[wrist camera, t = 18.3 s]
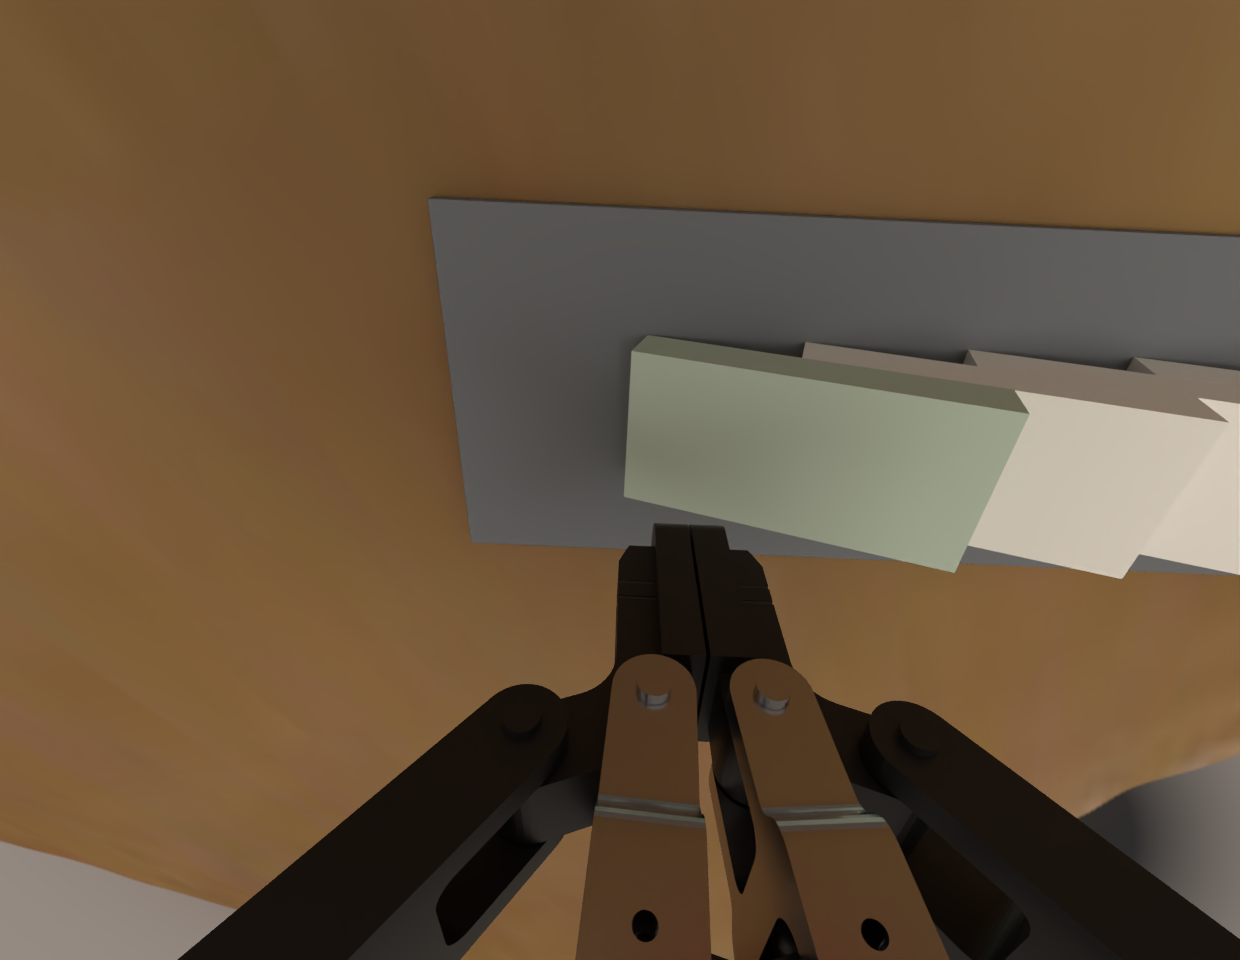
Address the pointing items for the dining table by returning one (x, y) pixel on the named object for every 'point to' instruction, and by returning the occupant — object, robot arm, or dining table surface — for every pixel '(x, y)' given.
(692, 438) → the domino
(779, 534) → the mat
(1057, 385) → the domino
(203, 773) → the dining table surface
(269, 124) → the dining table surface
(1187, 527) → the domino
